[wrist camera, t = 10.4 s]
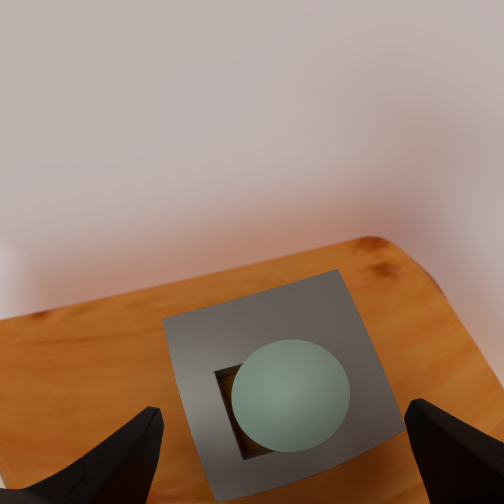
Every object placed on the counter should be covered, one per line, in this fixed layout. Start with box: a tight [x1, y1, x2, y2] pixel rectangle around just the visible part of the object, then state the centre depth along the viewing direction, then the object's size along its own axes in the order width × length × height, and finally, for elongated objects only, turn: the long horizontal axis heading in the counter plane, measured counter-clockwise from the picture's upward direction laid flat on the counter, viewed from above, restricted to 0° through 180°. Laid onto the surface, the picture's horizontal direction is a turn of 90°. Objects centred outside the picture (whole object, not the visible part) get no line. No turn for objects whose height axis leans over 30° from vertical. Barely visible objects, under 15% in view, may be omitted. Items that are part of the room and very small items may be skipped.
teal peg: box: [231, 339, 350, 452], centre depth 15 cm, size 5×5×12 cm
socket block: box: [162, 269, 405, 502], centre depth 19 cm, size 14×14×4 cm
